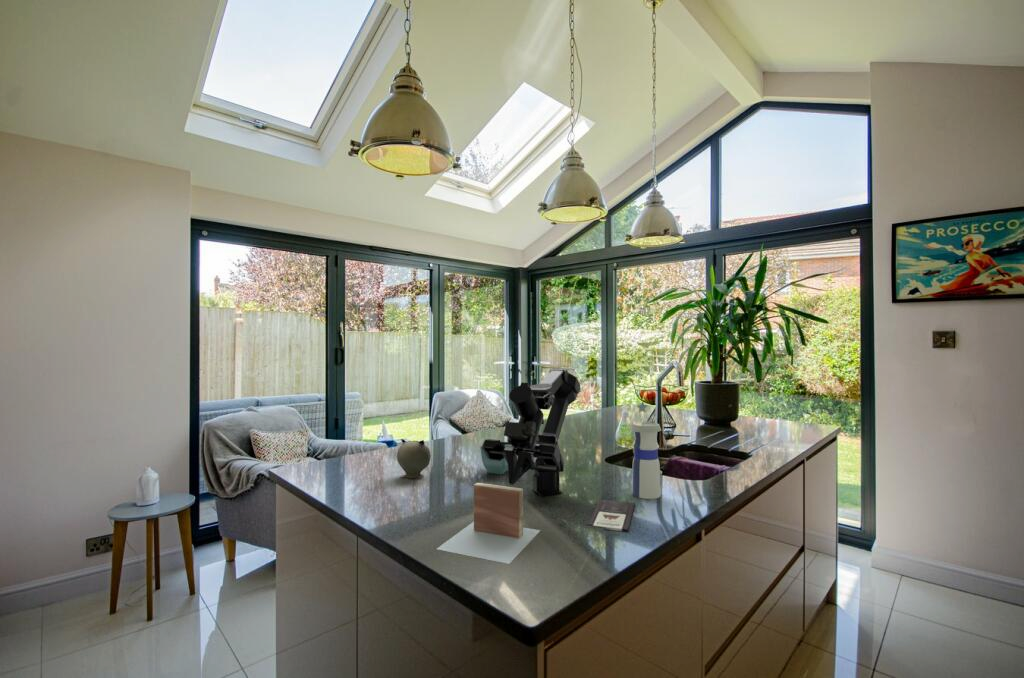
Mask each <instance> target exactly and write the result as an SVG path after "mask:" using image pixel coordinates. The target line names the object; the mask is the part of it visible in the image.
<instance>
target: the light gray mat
mask: <svg viewBox="0 0 1024 678" xmlns="http://www.w3.org/2000/svg"><path fill="white" fill-rule="evenodd" d="M539 533H541V530H540V529H535V528H527V527H523V536H522V537H521V538H520V539H519V538H514V537H508V536H503V535H497V534H491V533H486V532H480V531H475V530H474V521H472V522H471V523H469V524H468V525H467V526H465V527H464V528H463V529H461V530H460V531H458V532H457V533H456V534H455V535H453V536H452V537H450V538H448V540H447V541H445V542H444V543H442V544H441V545H440V546H438V547H437V548H436V550H439V551H444V552H448V553H453V554H457V555H458V554H459V555H463V556H466V557H467V556H468V557H473V558H478V559H482V560H488V561H492V562H497V563H502V564H506V565H510V564H511V563H512V561H514V559H516V558H517V556H518V555H519V554H520V553H521V552H522V551H523V550H524V549H525V547H527V545H528V544H530V542H531V541H533V539H534V538H535V537H536V536H537V535H538V534H539Z"/></svg>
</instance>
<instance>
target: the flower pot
mask: <svg viewBox="0 0 1024 678" xmlns="http://www.w3.org/2000/svg"><path fill="white" fill-rule="evenodd" d="M500 442H501V443H502V445H503V446H505V445H511V443H508V441H500ZM480 454H481V455H480V456H481V460H482V464H483V467H484V469H485V470H486V472H487V473H488V474H495V475H496V474H497V475H503V474H505V473H506V472H508V463H507V462H506V460H505V458H504V459H502V460H501V461H496V460H490V459H488V457H487V456H486V454H485V452H484V451H483V449H482V445H480Z"/></svg>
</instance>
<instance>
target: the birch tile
mask: <svg viewBox="0 0 1024 678" xmlns="http://www.w3.org/2000/svg"><path fill="white" fill-rule="evenodd" d="M473 522H474V530H475V531H480V532H486V533H491V534H497V535H503V536H508V537H514V538H519V539H520V538H521V537H522V536H523V528H524V488H523V487H522V488H521V487H520V488H519V487H513V486H505V485H499V484H491V483H483V482H476V483H474V484H473Z"/></svg>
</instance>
